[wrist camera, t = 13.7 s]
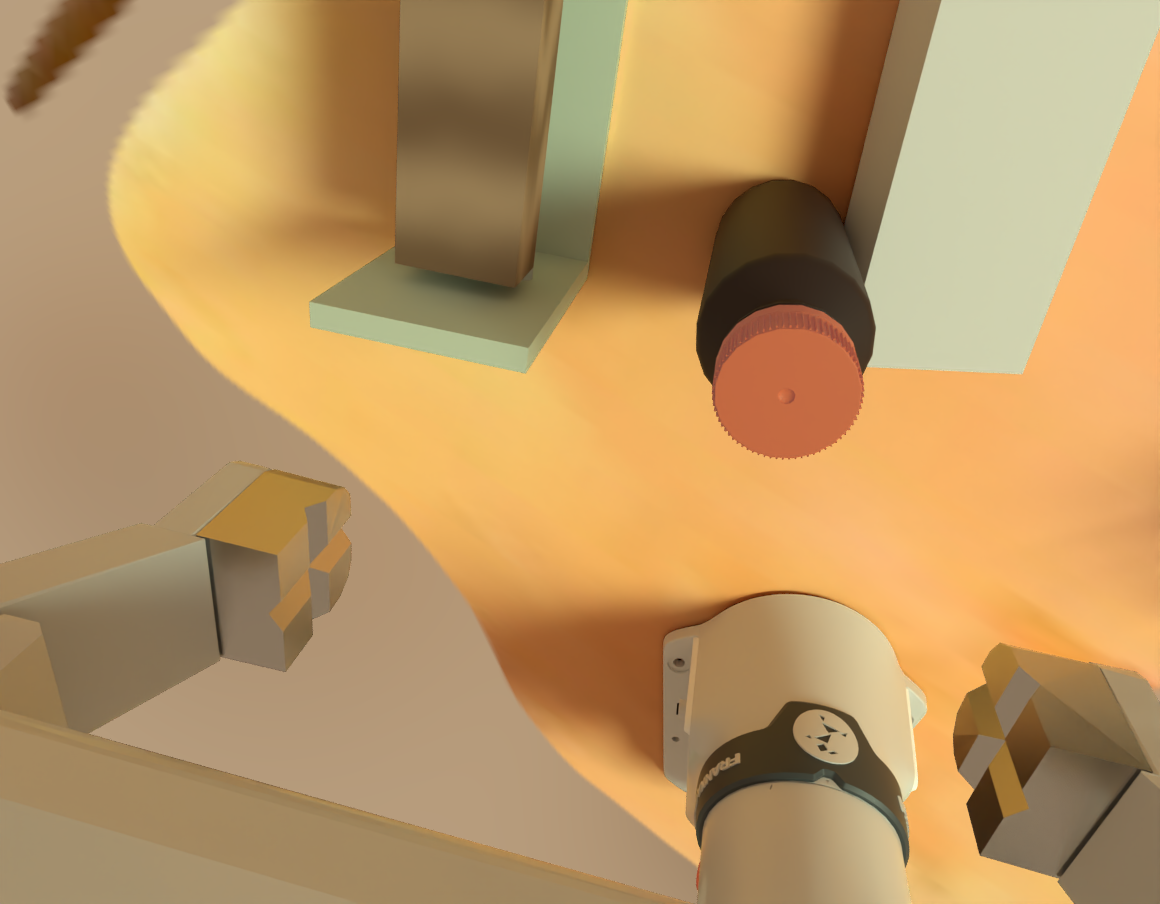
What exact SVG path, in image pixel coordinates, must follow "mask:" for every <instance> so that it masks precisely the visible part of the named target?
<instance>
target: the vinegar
mask: <svg viewBox="0 0 1160 904" xmlns="http://www.w3.org/2000/svg"><path fill="white" fill-rule="evenodd" d="M875 332H876V325H875V321H874V316H873V312H872V307H871V303H870V299H869V297H868V294H867V291H866V288H865V285H864V283H863V280H862V277H861V274H860V271H859V268H858V266H857V263H856V260H855V257H854V254H853V251H852V249H851V246H850V243H849V240H848V237H847V234H846V232H845V229H844V226H843V223H842V220H841V218H840V215H839V213H838V212H837V210H836V209H835V207H834V206H833V204H832V203H831V201H830V199H829V198H828V197H826V196H825V195H824V194H822V193H821V192H820V191H818V190H817V189H816V188H814V187H813V186H810V185H807V184H804V183H801V182H798V181H794V180H772V181H769V182H766V183H763V184H760V185H757V186H754V187H752V188H750V189H749V190H748V191H746V192H745V193H744V194H742V195H741V196H739V197H738V198H737V199H735V200H734V202H733V203H732V204H731V206H730V207H729V208H728V210H727V211H726V212H725V214H724V215H723V216H722V219H721V222H720V225H719V228H718V231H717V233H716V237H715V241H714V246H713V251H712V255H711V260H710V265H709V269H708V274H707V278H706V283H705V288H704V292H703V297H702V302H701V306H700V311H699V315H698V320H697V333H696V351H697V354H698V357H699V360H700V363H701V366H702V369H703V372H704V375H705V376H706V378H707V379H708V380H709V382H710V383H711V384H712V394H713V396H712V400H713V406H715V408H714V411H717V412H716V417H718V416H719V420H718V422H721V427H723V426H724V427H725V430H724V431H728V436H730V435H731V436H732V440H734V439H735V440H736V441H737V444H738V443H741V444H742V447H743V446H745V447H746V448H747V450H748V449H749V450H751V451H752V453H753V452H757V453H758V455H759V454H763V455H764V457H765V456H769V457H770V458H771V457H776V459H777V458H778V457H780V458H782V459H784V458H788V459H790V458H795V459H796V457H801V458H802V456H805V455H807V457H808V456H809V454H813V455H815V453H816V452H818V451H819V452H820V450H822V449H825V450H826V447H827V446H832V445H831V444H833V443H837V440H838V439H839V438H840V439H842V438H841V436H842V435H843V434H844V435H846V431H847V430H850V426H851V425H854V423H853V420H857V418H856V414H857V415H859V409H861V404H860V403H863V400H862V397H864V395H863V391H864V387H863V385H864V382H863V376H862V375H863V373H864V371H865V369H866V367H867V365H868V363H869V361H870V359H871V357H872V355H873V347H874V340H875Z"/></svg>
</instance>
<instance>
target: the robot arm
mask: <svg viewBox="0 0 1160 904" xmlns="http://www.w3.org/2000/svg"><path fill="white" fill-rule="evenodd" d="M350 516H351V503H350V494H349V493H348V491H347V490H346V489H345V488H344V487H341V486H337V485H333V484H329V483H326V482H321V481H318V480H314V479H310V478H306V477H303V476H299V475H295V474H291V473H287V472H283V471H280V470H275V469H274V470H272V469H270V468H267V467H263V466H259V465H255V464H250V463H246V462H242V461H235V462H229V463H228V464H226V465H225V466H224V467H223V468H222V469H220V470H219V471H218V472H217V473H216V474H214V475H213V476H212V477H211V478H210V479H208V480H207V481H206V482H205V483H204V484H203V485H201V486H200V487H199V488H198V489H196V490H195V491H194V492H193V493H192V494H190V495H189V496H188V497H187V498H186V499H184V500H183V501H182V502H181V503H180V504H178V505H177V506H176V507H175V508H174V509H172V510H171V511H170V512H169V513H168V514H166V515H165V516H164V517H163V518H162V519H160V520H159V521H158V522H157V523H156V524H154V525H153V526H151V525H148V524H143V523H140V524H136V525H133V526H130V527H126V528H123V529H119V530H116V531H112V532H109V533H105V534H102V535H98V536H95V537H91V538H88V539H85V540H81V541H78V542H74V543H71V544H67V545H64V546H60V547H57V548H53V549H50V550H47V551H43V552H40V553H36V554H33V555H29V556H26V557H22V558H19V559H15V560H12V561H9V562H5V563H2V564H0V904H693V903H690V902H686V901H682V900H679V899H675V898H671V897H668V896H665V895H661V894H657V893H654V892H650V891H647V890H643V889H639V888H636V887H632V886H629V885H625V884H622V883H618V882H615V881H611V880H607V879H604V878H601V877H596V876H593V875H590V874H586V873H583V872H579V871H576V870H572V869H568V868H565V867H561V866H558V865H554V864H551V863H547V862H543V861H540V860H536V859H533V858H529V857H525V856H522V855H518V854H515V853H511V852H508V851H504V850H501V849H497V848H493V847H490V846H486V845H483V844H479V843H476V842H472V841H469V840H465V839H462V838H457V837H454V836H451V835H447V834H444V833H440V832H436V831H433V830H429V829H426V828H422V827H419V826H415V825H412V824H407V823H404V822H401V821H397V820H394V819H390V818H386V817H383V816H379V815H376V814H372V813H369V812H365V811H362V810H358V809H355V808H351V807H347V806H344V805H340V804H337V803H333V802H330V801H326V800H323V799H319V798H315V797H312V796H308V795H304V794H301V793H297V792H294V791H290V790H287V789H283V788H280V787H276V786H273V785H269V784H266V783H262V782H258V781H254V780H251V779H248V778H244V777H241V776H237V775H233V774H230V773H226V772H222V771H219V770H216V769H212V768H208V767H205V766H201V765H198V764H194V763H191V762H187V761H184V760H180V759H176V758H173V757H169V756H166V755H162V754H158V753H155V752H151V751H148V750H144V749H141V748H137V747H133V746H130V745H127V744H123V743H119V742H116V741H112V740H109V739H105V738H102V737H98V736H94V735H91V734H88V733H90V732H92V731H93V730H95V729H97V728H99V727H101V726H103V725H104V724H106V723H108V722H110V721H111V720H113V719H115V718H117V717H119V716H121V715H122V714H124V713H126V712H128V711H130V710H131V709H133V708H135V707H137V706H139V705H141V704H142V703H144V702H146V701H147V700H150V699H151V698H153V697H155V696H157V695H159V694H160V693H162V692H164V691H166V690H167V689H169V688H171V687H173V686H175V685H177V684H179V683H180V682H182V681H184V680H186V679H188V678H189V677H191V676H193V675H195V674H197V673H198V672H200V671H202V670H204V669H206V668H207V667H209V666H211V665H213V664H215V663H216V662H218V661H220V657H224V658H228V659H233V660H236V661H241V662H245V663H250V664H254V665H258V666H262V667H267V668H271V669H275V670H279V671H283V672H286V671H287V669H288V668H289V667H290V665H291V664H292V663H293V661H294V660H295V659H296V657H297V656H298V654H299V653H300V652H301V650H302V649H303V648H304V646H305V645H306V643H307V642H308V641H309V639H310V638H311V637H312V635H313V631H312V619H314V618H316V617H319V616H321V615H323V614H325V613H328V612H330V610H331V609H332V608H333V606H334V605H335V603H336V602H337V600H338V599H339V597H340V596H341V593H342V591H343V588H344V586H345V583H346V581H347V578H348V575H349V570H350V563H351V542H350V540H349V539H348V537H347V536H346V534H345V533H344V532H343V530H342V529H341V527H342V526H343V525H344V524H345V523H346V521H347V520H348V519H349V518H350ZM677 658H680V659H682V660H677ZM982 670H983V673H984V676H985V679H986V682H987V684H985V685H983V686H981V687H978V688H976V689H974V690H972V691H970V692H968V693H967V694H966V696H965V698H964V700H963V702H962V704H961V706H960V708H959V710H958V713H957V716H956V722H955V727H954V733H953V747H954V756H955V760H956V765H957V769H958V772H959V773H960V774H961V775H962V776H963V777H964V778H965V780H966V781H967V782H968V783H969V784H970V785H971V786H972V787H973V788H974V789H975V790H974V792H973V793H972V795H971V797H970V798H969V800H968V802H967V803H966V805H967V808H968V812H969V816H970V820H971V824H972V827H973V831H974V835H975V839H976V843H977V847H978V850H979V854H980V856H984V857H987V858H990V859H994V860H997V861H1001V862H1004V863H1008V864H1011V865H1014V866H1018V867H1021V868H1025V869H1028V870H1032V871H1035V872H1038V873H1042V874H1045V875H1049V876H1052V877H1056V878H1059V880H1058V883H1059V884H1060V886H1061V887H1062V888H1063V890H1064V891H1065V892H1066V893H1067V895H1068V896H1069V897H1070V899H1071V900H1072V901H1073V903H1074V904H1160V702H1159V700H1158V698H1157V697H1156V695H1155V693H1154V691H1153V690H1152V688H1151V686H1150V684H1149V683H1148V681H1147V680H1146V679H1145V678H1144V677H1142V676H1141V675H1140V674H1138V673H1137V672H1135V671H1130V670H1125V669H1121V668H1116V667H1111V666H1106V665H1102V664H1097V663H1092V662H1089V663H1085V662H1081V661H1076V660H1072V659H1068V658H1063V657H1059V656H1055V655H1050V654H1046V653H1042V652H1038V651H1033V650H1029V649H1025V648H1020V647H1016V646H1012V645H1007V644H1003V643H999V644H998V645H997V646H996V647H994V648H993V649H992V650H991V651H990V652H989V654H988V656H987V658H986V659H985V661H984V663H983V665H982ZM926 712H927V702H926V696H925V694H924V693H923V691H922V690H921V689H920V688H919V687H918V686H917V685H916V684H915V683H914V682H913V681H912V680H910V679H909V678H908V677H907V676H906V675H905V674H904V673H903V671H902V670H901V668H900V666H899V663H898V661H897V658H896V655H895V653H894V650H893V648H892V646H891V644H890V643H889V641H888V640H887V638H886V637H885V635H884V634H883V633H882V632H881V631H880V630H879V629H878V628H877V627H876V626H875V625H874V624H873V623H872V622H871V621H869V620H868V619H867V618H865V617H864V616H863V615H861V614H859V613H858V612H856V611H854V610H852V609H850V608H848V607H846V606H844V605H842V604H839V603H837V602H834V601H831V600H827V599H823V598H819V597H814V596H808V595H799V594H776V595H768V596H762V597H757V598H753V599H749V600H746V601H743V602H741V603H738V604H736V605H734V606H732V607H730V608H728V609H726V610H724V611H723V612H721V613H720V614H718V615H717V616H715V617H714V618H712V619H711V620H709V621H707V622H705V623H703V624H701V625H696V626H691V627H686V628H682V629H678V630H675V631H672V632H670V633H669V634H667V635H666V636H665V638H664V641H663V765H664V775H665V777H666V778H667V779H668V780H669V781H670V782H672V783H673V784H674V785H676V786H677V787H678V788H680V789H682V790H683V791H685V792H687V794H686V817H687V818H688V820H689V821H690V823H691V824H692V825H693V826H694V827H695V829H696V836H697V840H698V845H699V847H700V849H701V858H700V863H699V867H698V871H697V880H696V886H697V890H698V897H697V904H912V902H911V897H910V892H909V887H908V882H907V876H906V870H905V868H906V865H907V862H908V859H909V841H908V838H909V825H908V818H907V812H906V809H905V806H904V804H903V802H904V801H905V800H906V799H907V797H908V796H909V795H910V793H911V791H915V790H916V788H917V785H918V773H917V763H916V753H915V744H914V735H913V728H914V727H915V726H916V725H917V724H918V723H919V721H920V720H921V719H922V718H923V717H924V716H925V714H926Z"/></svg>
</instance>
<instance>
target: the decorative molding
mask: <svg viewBox="0 0 1160 904" xmlns="http://www.w3.org/2000/svg"><path fill="white" fill-rule="evenodd" d="M1159 28H1160V0H900V1H899V5H898V9H897V14H896V18H895V22H894V26H893V30H892V34H891V38H890V42H889V46H888V50H887V54H886V58H885V62H884V67H883V71H882V75H881V79H880V83H879V87H878V91H877V95H876V99H875V103H874V107H873V111H872V115H871V119H870V123H869V127H868V131H867V136H866V140H865V144H864V148H863V152H862V156H861V160H860V164H859V168H858V172H857V176H856V180H855V184H854V188H853V192H852V196H851V200H850V204H849V208H848V212H847V216H846V220H845V224H844V229H845V232H846V234H847V237H848V240H849V243H850V246H851V249H852V251H853V254H854V257H855V260H856V263H857V266H858V268H859V271H860V274H861V277H862V280H863V283H864V285H865V288H866V291H867V294H868V297H869V299H870V303H871V307H872V312H873V316H874V321H875V325H876V332H875V340H874V347H873V355H872V357H871V359H870V361H869V363H868V365H867V367H878V368H900V369H921V370H943V371H964V372H986V373H1007V374H1023V371H1024V369H1025V366H1026V364H1027V361H1028V359H1029V356H1030V353H1031V351H1032V348H1033V346H1034V343H1035V341H1036V338H1037V336H1038V333H1039V331H1040V328H1041V326H1042V323H1043V321H1044V318H1045V316H1046V313H1047V311H1048V308H1049V306H1050V303H1051V300H1052V298H1053V295H1054V293H1055V290H1056V288H1057V285H1058V283H1059V280H1060V278H1061V275H1062V273H1063V270H1064V268H1065V265H1066V263H1067V260H1068V258H1069V255H1070V253H1071V250H1072V247H1073V245H1074V242H1075V240H1076V237H1077V235H1078V232H1079V230H1080V227H1081V225H1082V222H1083V220H1084V217H1085V215H1086V212H1087V210H1088V207H1089V205H1090V202H1091V200H1092V197H1093V194H1094V192H1095V189H1096V187H1097V184H1098V182H1099V179H1100V177H1101V174H1102V172H1103V169H1104V167H1105V164H1106V162H1107V159H1108V157H1109V154H1110V152H1111V149H1112V147H1113V144H1114V141H1115V139H1116V136H1117V134H1118V131H1119V129H1120V126H1121V124H1122V121H1123V119H1124V116H1125V114H1126V111H1127V109H1128V106H1129V104H1130V101H1131V99H1132V96H1133V94H1134V91H1135V88H1136V86H1137V83H1138V81H1139V78H1140V76H1141V73H1142V71H1143V68H1144V66H1145V63H1146V61H1147V58H1148V56H1149V53H1150V51H1151V48H1152V46H1153V43H1154V41H1155V38H1156V35H1157V33H1158V30H1159Z"/></svg>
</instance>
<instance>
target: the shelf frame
mask: <svg viewBox="0 0 1160 904" xmlns="http://www.w3.org/2000/svg"><path fill="white" fill-rule="evenodd" d="M627 3H628V0H563V9H562V18H561V27H560V35H559V44H558V53H557V62H556V71H555V80H554V89H553V98H552V106H551V115H550V124H549V133H548V142H547V151H546V160H545V168H544V177H543V186H542V195H541V204H540V213H539V222H538V231H537V239H536V248H535V257H534V266H533V268H532V269H531V271H530V272H529V273H528V274H527V275H526V276H525V277H524V278H523V280H522V281H521V282H520V283H519V284H518V285H517V286H516V287H515V288H512V287H507V286H503V285H498V284H493V283H488V282H483V281H478V280H473V279H469V278H464V277H459V276H454V275H449V274H444V273H440V272H435V271H430V270H425V269H420V268H415V267H410V266H406V265H401V264H396V263H395V246H394V247H393V248H391V249H390V250H388V251H387V252H385V253H384V254H382V255H381V256H379V257H378V258H376V259H374V260H373V261H371V262H370V263H368V264H367V265H365V266H364V267H362V268H361V269H359V270H358V271H356V272H354V273H353V274H351V275H350V276H348V277H347V278H345V279H344V280H342V281H341V282H339V283H338V284H336V285H335V286H333V287H331V288H330V289H328V290H327V291H325V292H324V293H322V294H321V295H319V296H318V297H316V298H315V299H313V300H311V301H310V327H312V328H317V329H321V330H326V331H331V332H335V333H340V334H345V335H349V336H354V337H359V338H363V339H368V340H373V341H377V342H382V343H386V344H391V345H396V346H400V347H405V348H410V349H414V350H419V351H424V352H428V353H433V354H438V355H442V356H447V357H452V358H456V359H461V360H465V361H470V362H475V363H479V364H484V365H489V366H493V367H498V368H503V369H507V370H512V371H517V372H521V373H526V372H527V371H528V369H529V368H530V366H531V364H532V363H533V361H534V360H535V358H536V357H537V355H538V354H539V352H540V351H541V349H542V348H543V346H544V344H545V343H546V341H547V340H548V338H549V337H550V335H551V334H552V332H553V331H554V329H555V328H556V326H557V324H558V323H559V321H560V320H561V318H562V317H563V315H564V314H565V312H566V311H567V309H568V308H569V306H570V304H571V303H572V301H573V300H574V298H575V297H576V295H577V294H578V292H579V291H580V289H581V287H582V286H583V284H584V283H585V281H586V280H587V276H588V269H589V262H590V255H591V249H592V242H593V235H594V228H595V221H596V215H597V208H598V201H599V194H600V187H601V180H602V174H603V167H604V160H605V153H606V146H607V140H608V133H609V126H610V119H611V112H612V106H613V99H614V92H615V85H616V78H617V72H618V65H619V58H620V51H621V44H622V38H623V31H624V24H625V17H626V10H627Z"/></svg>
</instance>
